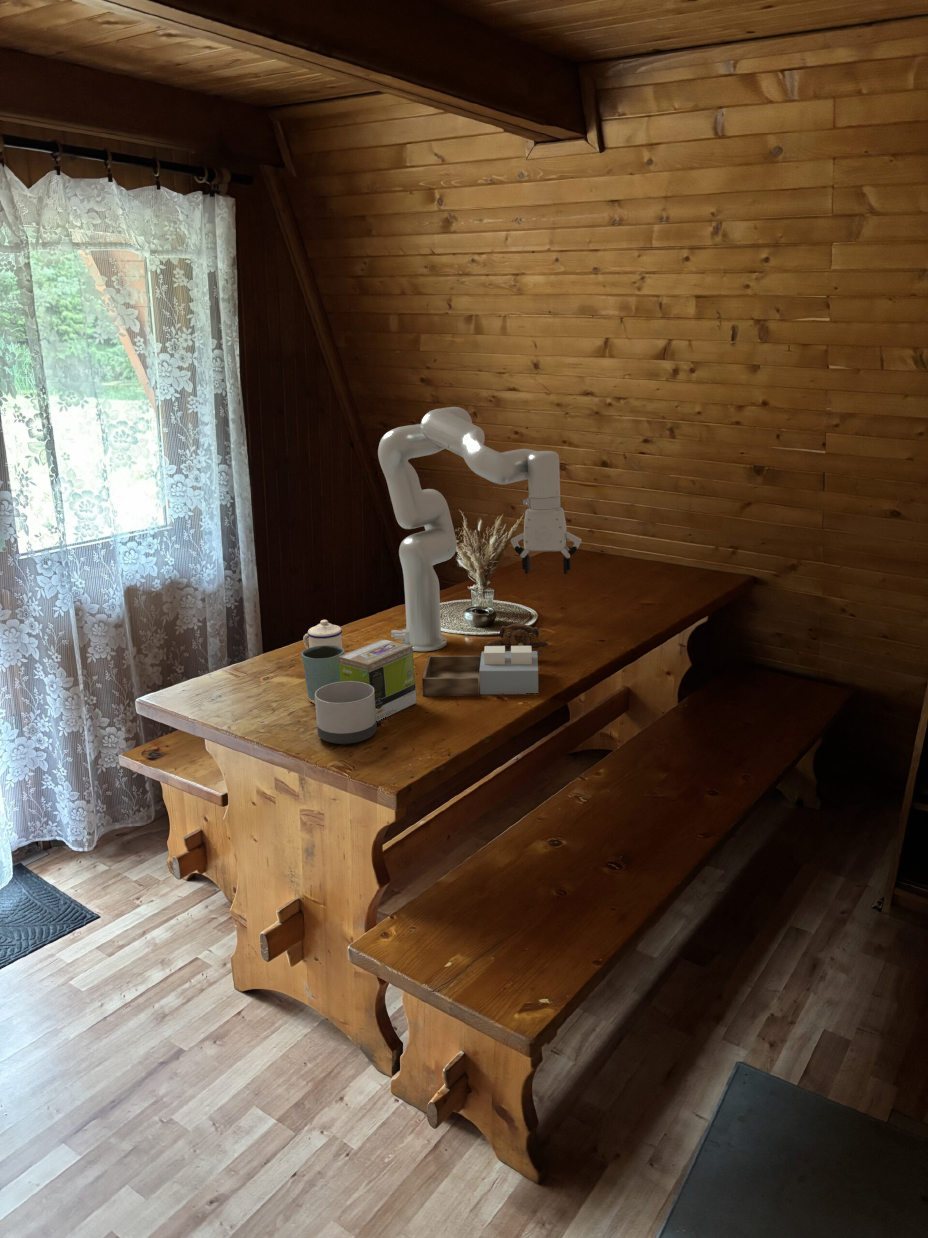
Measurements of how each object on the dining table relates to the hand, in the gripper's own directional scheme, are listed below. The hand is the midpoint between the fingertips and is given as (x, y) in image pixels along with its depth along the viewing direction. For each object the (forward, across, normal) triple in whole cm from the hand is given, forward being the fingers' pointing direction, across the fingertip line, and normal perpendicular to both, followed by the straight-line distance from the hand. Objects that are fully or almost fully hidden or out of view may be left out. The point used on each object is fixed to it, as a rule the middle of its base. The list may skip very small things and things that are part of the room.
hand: (546, 572), depth 235 cm
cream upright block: (+20, -6, -8) cm, 22 cm away
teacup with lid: (+25, -61, -2) cm, 66 cm away
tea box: (+26, -35, -30) cm, 53 cm away
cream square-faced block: (+20, -12, -9) cm, 25 cm away
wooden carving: (+26, -10, +8) cm, 29 cm away
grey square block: (+26, -9, -8) cm, 29 cm away
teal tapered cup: (+26, -50, -26) cm, 62 cm away
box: (+26, -22, -11) cm, 36 cm away
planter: (+26, -36, -46) cm, 64 cm away
